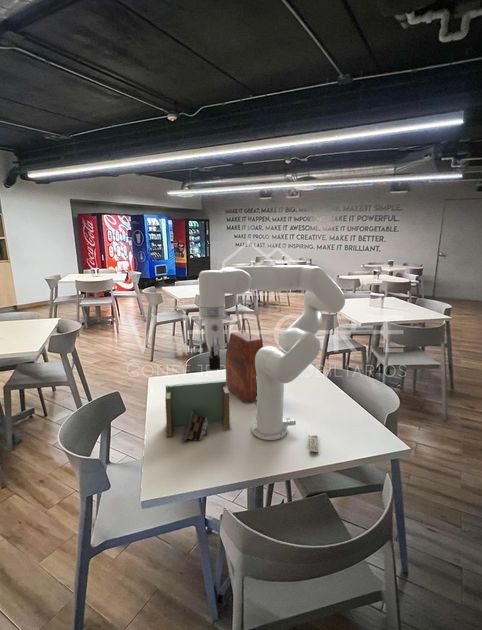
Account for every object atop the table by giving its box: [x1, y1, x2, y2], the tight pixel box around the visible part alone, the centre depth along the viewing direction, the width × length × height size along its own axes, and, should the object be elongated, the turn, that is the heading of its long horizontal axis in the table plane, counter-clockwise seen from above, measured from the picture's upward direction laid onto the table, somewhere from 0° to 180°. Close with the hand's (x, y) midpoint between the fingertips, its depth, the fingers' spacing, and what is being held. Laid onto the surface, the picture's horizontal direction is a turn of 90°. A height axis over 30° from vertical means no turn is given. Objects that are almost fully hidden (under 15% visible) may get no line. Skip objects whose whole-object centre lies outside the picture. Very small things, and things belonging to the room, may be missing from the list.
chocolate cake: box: [183, 409, 209, 442], centre depth 119 cm, size 10×7×12 cm
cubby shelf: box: [164, 379, 231, 438], centre depth 122 cm, size 22×9×16 cm, turn 104°
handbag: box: [225, 317, 264, 403], centre depth 149 cm, size 10×19×35 cm, turn 31°
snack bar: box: [308, 434, 320, 454], centre depth 113 cm, size 10×2×3 cm
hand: (214, 368), depth 105 cm, fingers closed
